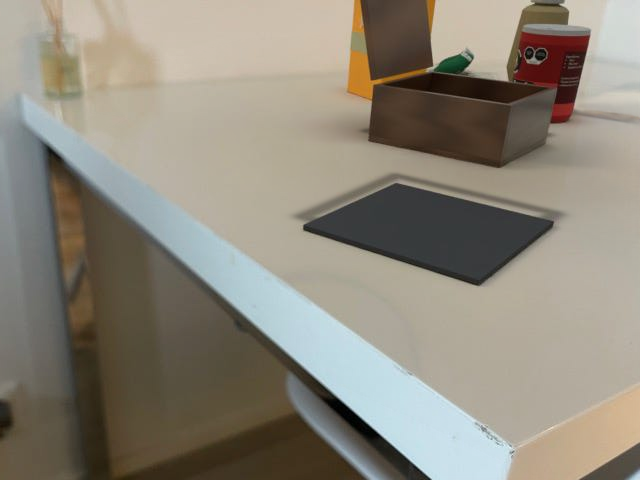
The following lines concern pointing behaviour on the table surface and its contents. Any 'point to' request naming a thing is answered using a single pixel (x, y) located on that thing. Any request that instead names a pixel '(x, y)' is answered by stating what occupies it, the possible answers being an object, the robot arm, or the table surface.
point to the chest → (462, 116)
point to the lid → (396, 36)
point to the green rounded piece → (456, 63)
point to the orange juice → (359, 59)
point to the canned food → (553, 62)
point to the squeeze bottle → (537, 13)
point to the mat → (433, 230)
